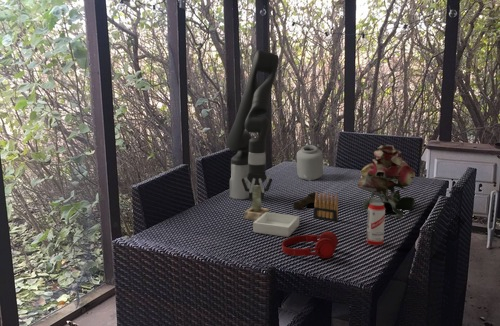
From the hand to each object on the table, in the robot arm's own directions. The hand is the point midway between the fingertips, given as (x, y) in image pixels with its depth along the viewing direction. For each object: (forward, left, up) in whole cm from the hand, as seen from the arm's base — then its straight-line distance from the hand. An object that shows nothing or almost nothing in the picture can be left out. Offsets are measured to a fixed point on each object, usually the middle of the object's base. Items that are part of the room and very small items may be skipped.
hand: (256, 200), depth 218 cm
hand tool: (+15, +26, -8) cm, 31 cm away
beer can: (+53, -13, -8) cm, 55 cm away
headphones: (+32, -29, -8) cm, 44 cm away
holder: (0, 0, -8) cm, 8 cm away
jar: (+3, +75, -8) cm, 75 cm away
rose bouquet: (+51, +35, -8) cm, 62 cm away
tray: (+13, -11, -8) cm, 19 cm away
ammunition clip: (+29, +8, -8) cm, 31 cm away
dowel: (0, 0, -4) cm, 4 cm away
